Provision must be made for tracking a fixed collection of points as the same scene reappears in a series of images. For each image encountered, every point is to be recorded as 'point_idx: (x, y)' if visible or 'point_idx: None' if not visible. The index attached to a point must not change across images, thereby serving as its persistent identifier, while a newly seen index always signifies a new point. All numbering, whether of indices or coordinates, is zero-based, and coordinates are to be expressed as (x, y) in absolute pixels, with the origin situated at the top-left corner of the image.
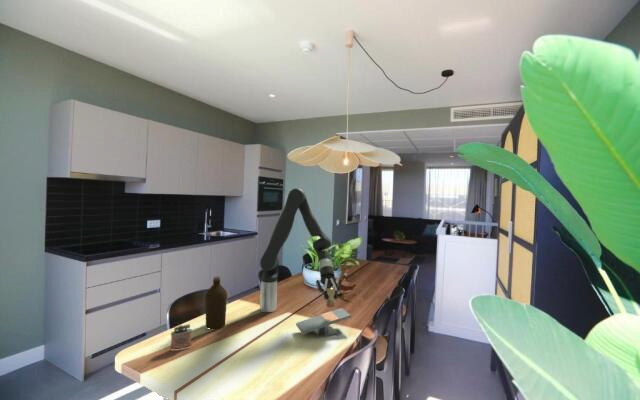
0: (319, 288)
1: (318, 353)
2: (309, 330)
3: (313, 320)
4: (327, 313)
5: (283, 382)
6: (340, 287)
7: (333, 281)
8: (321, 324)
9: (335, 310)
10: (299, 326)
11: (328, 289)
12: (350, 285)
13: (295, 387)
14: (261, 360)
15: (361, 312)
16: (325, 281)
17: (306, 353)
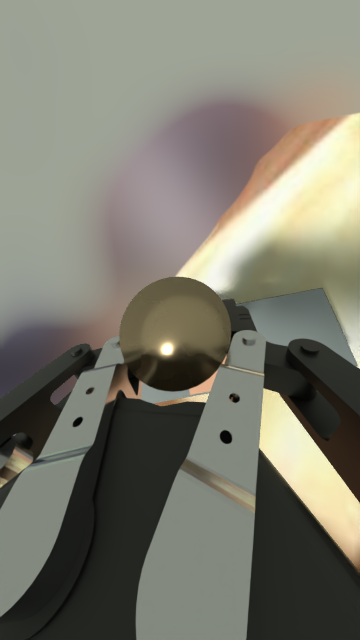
0: (345, 372)
1: (260, 236)
2: (293, 294)
3: None
4: (209, 380)
5: (350, 140)
6: (58, 357)
7: (48, 445)
8: (247, 307)
9: (168, 394)
10: (337, 329)
11: (210, 290)
12: None
13: (320, 133)
14: None
15: None
16: (246, 490)
17: (293, 235)
